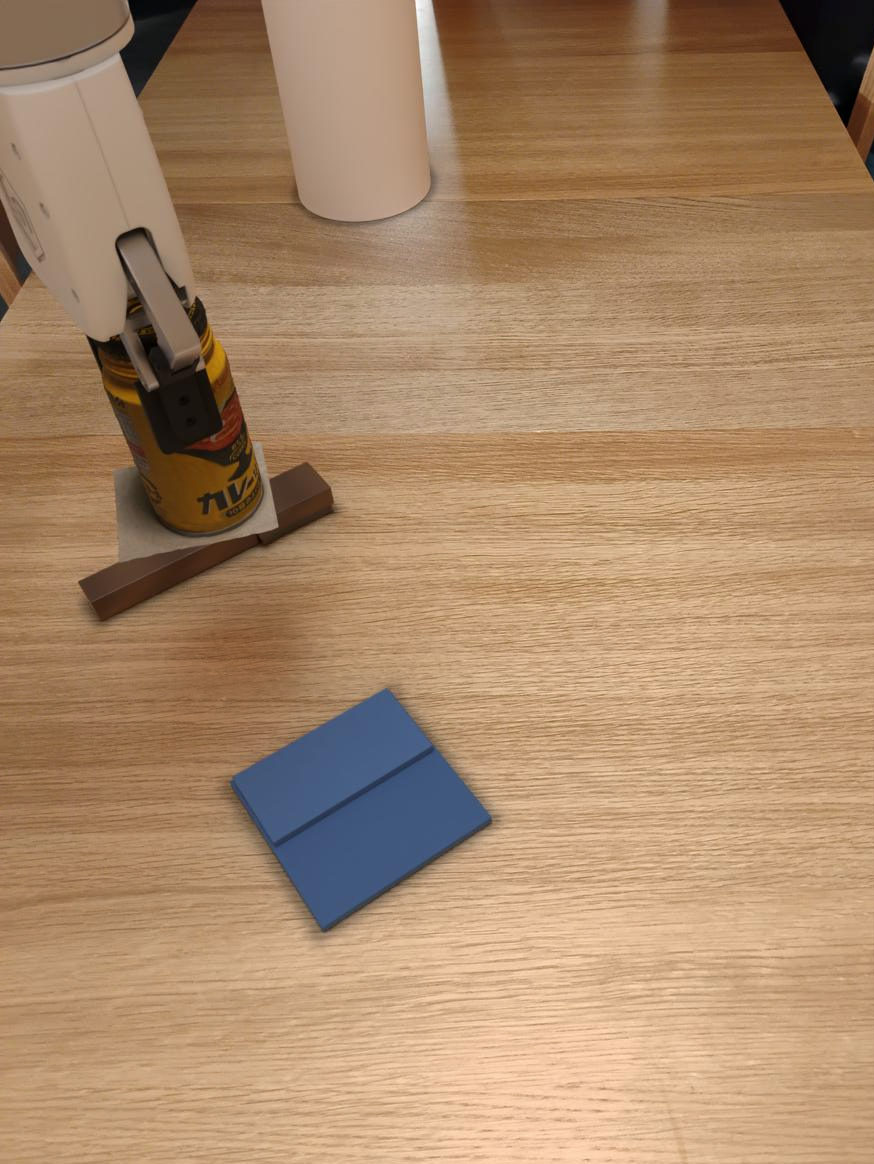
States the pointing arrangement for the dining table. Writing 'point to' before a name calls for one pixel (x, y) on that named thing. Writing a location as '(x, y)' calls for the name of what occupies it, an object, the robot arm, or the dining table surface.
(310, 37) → the canister
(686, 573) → the dining table surface
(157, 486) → the condiment
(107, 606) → the brown bar
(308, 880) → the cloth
